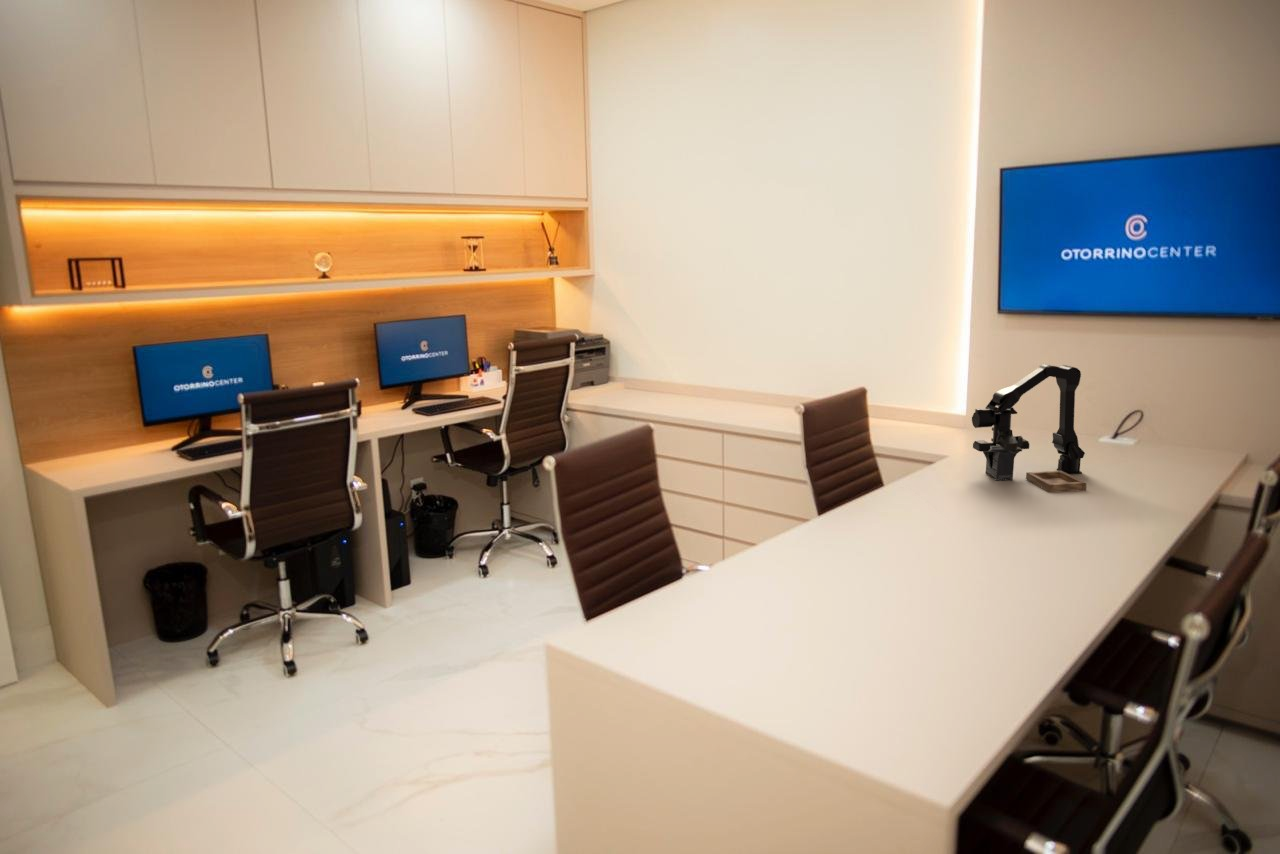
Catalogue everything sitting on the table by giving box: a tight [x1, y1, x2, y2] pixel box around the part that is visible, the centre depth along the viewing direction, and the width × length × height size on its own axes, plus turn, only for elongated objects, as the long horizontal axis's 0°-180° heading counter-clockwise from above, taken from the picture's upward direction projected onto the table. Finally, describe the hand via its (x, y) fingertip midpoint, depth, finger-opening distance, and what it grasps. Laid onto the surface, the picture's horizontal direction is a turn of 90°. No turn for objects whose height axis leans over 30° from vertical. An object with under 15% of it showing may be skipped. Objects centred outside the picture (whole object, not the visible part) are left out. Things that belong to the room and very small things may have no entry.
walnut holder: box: [1025, 470, 1087, 493], centre depth 301 cm, size 13×16×3 cm
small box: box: [984, 447, 1015, 481], centre depth 312 cm, size 11×6×10 cm, turn 0°
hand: (999, 467), depth 313 cm, fingers closed on small box, 6 cm apart
